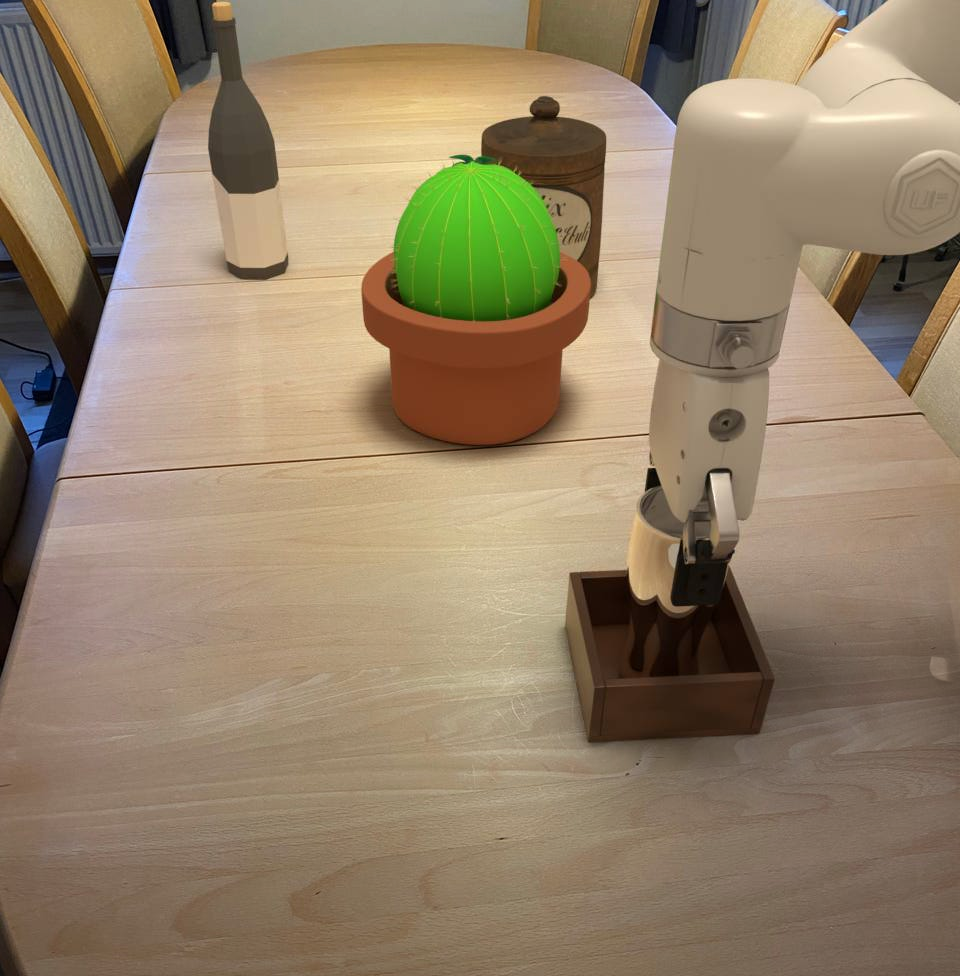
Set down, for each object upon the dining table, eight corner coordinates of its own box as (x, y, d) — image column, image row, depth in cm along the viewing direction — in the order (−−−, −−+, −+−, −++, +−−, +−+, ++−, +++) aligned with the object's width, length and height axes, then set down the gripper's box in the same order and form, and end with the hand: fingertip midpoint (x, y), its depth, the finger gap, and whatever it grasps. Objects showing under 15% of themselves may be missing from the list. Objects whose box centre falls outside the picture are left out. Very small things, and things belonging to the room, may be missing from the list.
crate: (717, 618, 84) (729, 565, 80) (760, 733, 75) (775, 678, 71) (564, 625, 83) (569, 571, 79) (588, 742, 74) (594, 687, 70)
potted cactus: (531, 481, 98) (544, 216, 81) (333, 429, 105) (307, 175, 88) (608, 380, 113) (632, 137, 96) (430, 340, 120) (424, 107, 103)
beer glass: (676, 717, 75) (708, 555, 65) (595, 676, 78) (613, 515, 68) (720, 665, 79) (757, 504, 69) (642, 628, 82) (666, 469, 72)
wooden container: (467, 304, 127) (467, 111, 112) (495, 257, 137) (497, 75, 123) (586, 317, 124) (601, 122, 109) (604, 268, 135) (621, 84, 120)
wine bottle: (296, 275, 133) (265, 8, 113) (234, 284, 131) (191, 14, 111) (281, 251, 139) (249, -7, 118) (222, 260, 136) (178, -2, 116)
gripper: (829, 396, 53) (766, 639, 65) (742, 261, 66) (702, 484, 78) (686, 401, 53) (648, 644, 64) (627, 264, 66) (604, 488, 77)
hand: (678, 557), depth 71 cm, fingers open, 9 cm apart
